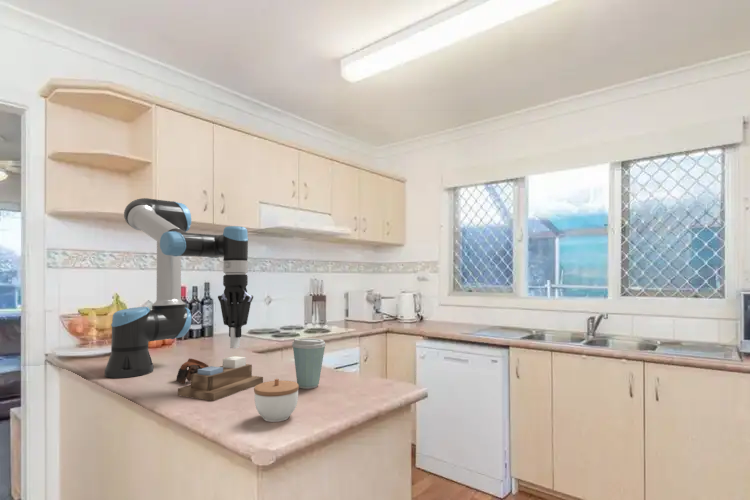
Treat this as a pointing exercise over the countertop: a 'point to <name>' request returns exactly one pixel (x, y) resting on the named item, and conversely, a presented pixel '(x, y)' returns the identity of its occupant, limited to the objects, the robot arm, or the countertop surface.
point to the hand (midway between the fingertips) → (235, 347)
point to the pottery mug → (189, 370)
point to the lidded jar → (276, 399)
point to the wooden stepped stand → (220, 383)
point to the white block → (234, 362)
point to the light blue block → (210, 370)
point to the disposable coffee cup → (308, 361)
